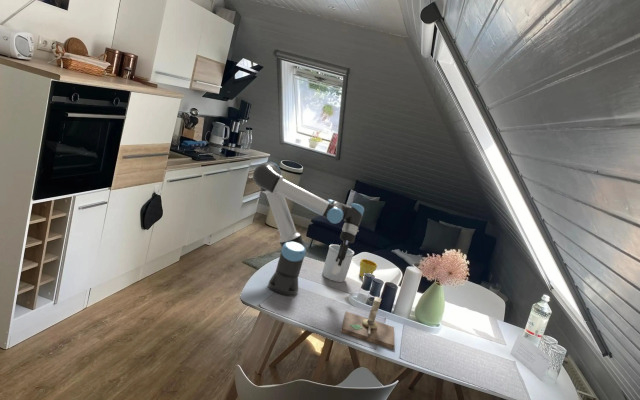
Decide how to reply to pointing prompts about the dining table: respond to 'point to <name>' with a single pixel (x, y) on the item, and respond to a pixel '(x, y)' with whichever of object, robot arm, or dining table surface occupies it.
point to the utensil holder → (330, 263)
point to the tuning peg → (372, 315)
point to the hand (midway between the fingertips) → (335, 273)
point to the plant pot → (367, 267)
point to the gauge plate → (355, 328)
